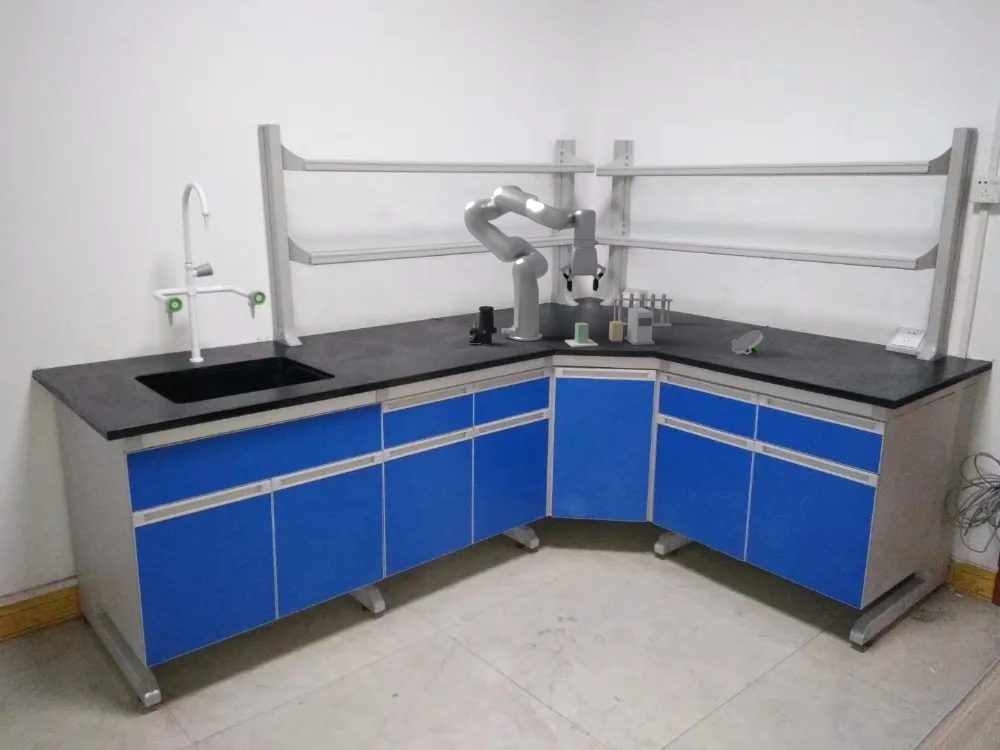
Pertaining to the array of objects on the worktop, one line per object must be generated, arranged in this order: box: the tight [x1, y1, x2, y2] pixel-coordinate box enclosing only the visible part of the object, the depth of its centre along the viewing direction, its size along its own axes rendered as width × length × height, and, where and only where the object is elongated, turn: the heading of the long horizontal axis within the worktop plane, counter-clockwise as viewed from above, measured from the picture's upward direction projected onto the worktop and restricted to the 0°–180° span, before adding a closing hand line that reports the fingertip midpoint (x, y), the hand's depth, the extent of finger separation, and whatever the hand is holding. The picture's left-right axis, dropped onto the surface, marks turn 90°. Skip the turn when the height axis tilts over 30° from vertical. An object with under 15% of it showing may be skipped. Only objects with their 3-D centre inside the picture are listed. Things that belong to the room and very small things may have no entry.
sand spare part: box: [608, 320, 624, 342], centre depth 296 cm, size 4×4×7 cm
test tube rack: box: [611, 293, 673, 327], centre depth 325 cm, size 25×4×13 cm, turn 84°
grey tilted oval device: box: [730, 329, 764, 355], centre depth 276 cm, size 15×8×11 cm
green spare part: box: [574, 322, 590, 343], centre depth 289 cm, size 4×4×7 cm
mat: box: [564, 338, 599, 348], centre depth 290 cm, size 10×10×1 cm
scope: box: [468, 305, 498, 345], centre depth 288 cm, size 8×14×10 cm
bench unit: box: [623, 307, 656, 346], centre depth 293 cm, size 8×11×12 cm
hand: (582, 290), depth 285 cm, fingers open, 9 cm apart
